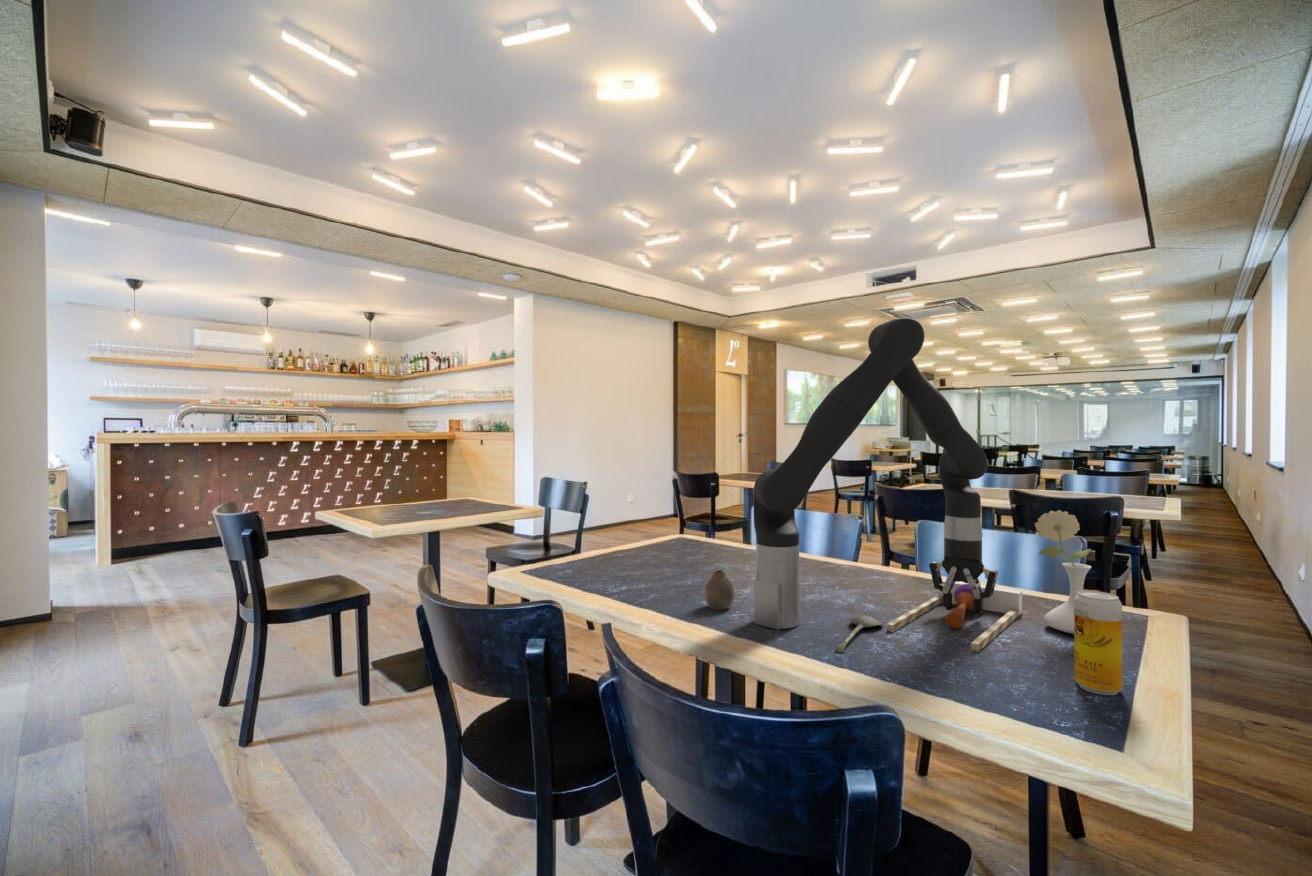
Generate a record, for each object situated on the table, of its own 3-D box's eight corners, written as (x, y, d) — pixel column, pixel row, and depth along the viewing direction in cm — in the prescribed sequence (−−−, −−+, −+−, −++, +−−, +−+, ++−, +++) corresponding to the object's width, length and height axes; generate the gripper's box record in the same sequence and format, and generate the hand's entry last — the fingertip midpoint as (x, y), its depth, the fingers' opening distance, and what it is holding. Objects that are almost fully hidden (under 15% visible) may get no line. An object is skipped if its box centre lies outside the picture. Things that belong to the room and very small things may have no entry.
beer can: (1065, 681, 95) (1064, 590, 95) (1099, 679, 96) (1099, 589, 96) (1096, 697, 89) (1096, 600, 89) (1132, 695, 89) (1132, 599, 90)
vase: (738, 606, 138) (738, 569, 138) (726, 613, 132) (726, 575, 132) (713, 602, 142) (712, 566, 142) (699, 609, 136) (699, 572, 136)
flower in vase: (1114, 631, 120) (1114, 511, 120) (1108, 645, 111) (1108, 516, 112) (1040, 618, 129) (1039, 506, 129) (1029, 630, 120) (1029, 510, 120)
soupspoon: (886, 629, 124) (855, 625, 128) (885, 613, 125) (855, 610, 128) (856, 657, 106) (821, 651, 110) (855, 638, 107) (821, 633, 110)
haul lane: (978, 652, 108) (978, 644, 108) (886, 630, 120) (886, 623, 120) (1018, 615, 130) (1018, 609, 130) (938, 601, 142) (938, 594, 142)
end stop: (1018, 615, 130) (1018, 593, 130) (938, 601, 142) (938, 580, 142) (1022, 612, 132) (1022, 591, 132) (942, 598, 144) (942, 578, 144)
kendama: (935, 606, 123) (954, 581, 139) (942, 634, 122) (959, 605, 138) (966, 606, 119) (982, 580, 135) (973, 635, 119) (987, 605, 135)
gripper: (923, 534, 131) (923, 609, 131) (994, 542, 121) (994, 623, 121) (934, 530, 137) (934, 602, 137) (1003, 538, 127) (1003, 615, 127)
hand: (962, 611), depth 129 cm, fingers closed on kendama, 5 cm apart
